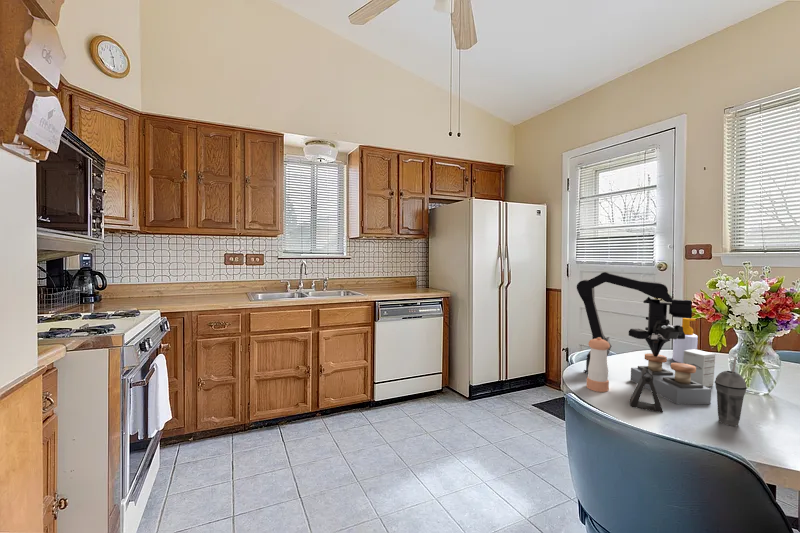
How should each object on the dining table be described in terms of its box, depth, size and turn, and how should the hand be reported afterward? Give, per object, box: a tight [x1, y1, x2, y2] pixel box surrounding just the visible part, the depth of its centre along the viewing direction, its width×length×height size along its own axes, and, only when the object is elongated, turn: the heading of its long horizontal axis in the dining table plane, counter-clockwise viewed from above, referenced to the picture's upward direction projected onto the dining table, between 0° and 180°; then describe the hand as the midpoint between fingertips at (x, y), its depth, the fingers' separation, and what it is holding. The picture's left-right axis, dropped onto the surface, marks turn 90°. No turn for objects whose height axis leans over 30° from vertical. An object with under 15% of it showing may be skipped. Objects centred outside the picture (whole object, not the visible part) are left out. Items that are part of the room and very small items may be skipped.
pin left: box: [644, 352, 668, 372], centre depth 144 cm, size 7×7×6 cm
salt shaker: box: [586, 337, 611, 393], centre depth 139 cm, size 7×7×19 cm
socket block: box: [630, 365, 712, 405], centre depth 137 cm, size 12×23×6 cm, turn 3°
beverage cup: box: [714, 356, 748, 427], centre depth 112 cm, size 7×7×20 cm
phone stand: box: [629, 368, 664, 414], centre depth 123 cm, size 9×6×12 cm, turn 60°
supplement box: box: [683, 348, 716, 388], centre depth 145 cm, size 7×7×13 cm
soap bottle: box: [672, 318, 699, 363], centre depth 175 cm, size 13×8×20 cm, turn 164°
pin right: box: [670, 362, 696, 384], centre depth 131 cm, size 7×7×6 cm
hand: (655, 356), depth 144 cm, fingers closed, pressing on pin left
